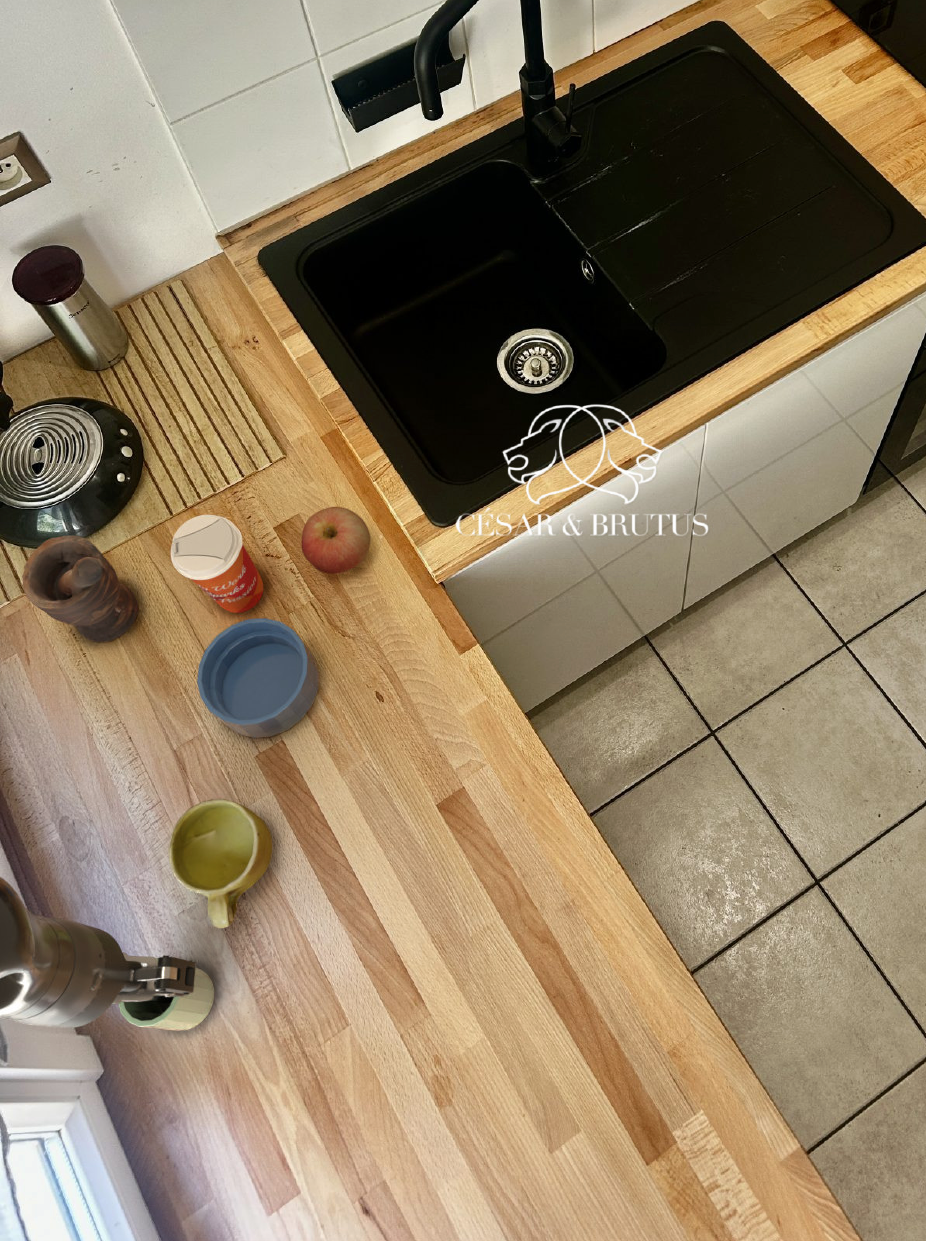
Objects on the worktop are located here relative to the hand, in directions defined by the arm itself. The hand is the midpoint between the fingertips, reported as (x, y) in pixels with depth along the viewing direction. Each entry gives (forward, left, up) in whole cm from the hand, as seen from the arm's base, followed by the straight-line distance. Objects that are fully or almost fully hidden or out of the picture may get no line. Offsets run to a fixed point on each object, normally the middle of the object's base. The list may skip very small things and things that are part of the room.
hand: (134, 987), depth 104 cm
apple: (+14, +48, -14) cm, 52 cm away
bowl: (+6, +32, -14) cm, 35 cm away
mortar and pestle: (-12, +42, -14) cm, 46 cm away
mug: (+4, +12, -14) cm, 19 cm away
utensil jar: (0, 0, -14) cm, 14 cm away
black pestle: (0, 0, -13) cm, 13 cm away
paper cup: (+2, +44, -14) cm, 46 cm away
